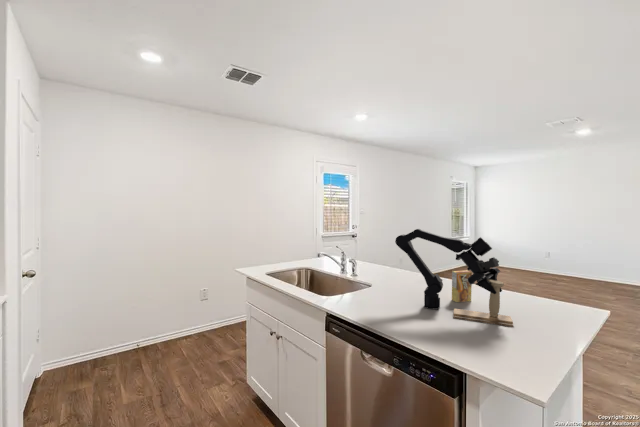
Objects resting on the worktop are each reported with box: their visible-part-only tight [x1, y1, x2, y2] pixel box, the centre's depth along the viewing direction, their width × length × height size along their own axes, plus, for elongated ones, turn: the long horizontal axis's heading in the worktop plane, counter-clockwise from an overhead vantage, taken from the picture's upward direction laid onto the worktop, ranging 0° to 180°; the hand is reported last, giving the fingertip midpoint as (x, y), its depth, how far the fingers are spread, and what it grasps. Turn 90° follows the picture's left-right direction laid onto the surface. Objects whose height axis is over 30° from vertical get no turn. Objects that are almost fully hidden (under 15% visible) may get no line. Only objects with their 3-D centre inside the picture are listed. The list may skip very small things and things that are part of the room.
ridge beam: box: [452, 308, 514, 328], centre depth 128 cm, size 22×10×2 cm, turn 64°
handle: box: [488, 279, 505, 317], centre depth 125 cm, size 5×6×15 cm
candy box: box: [451, 269, 473, 303], centre depth 152 cm, size 9×4×15 cm, turn 103°
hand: (498, 292), depth 124 cm, fingers closed on handle, 5 cm apart
